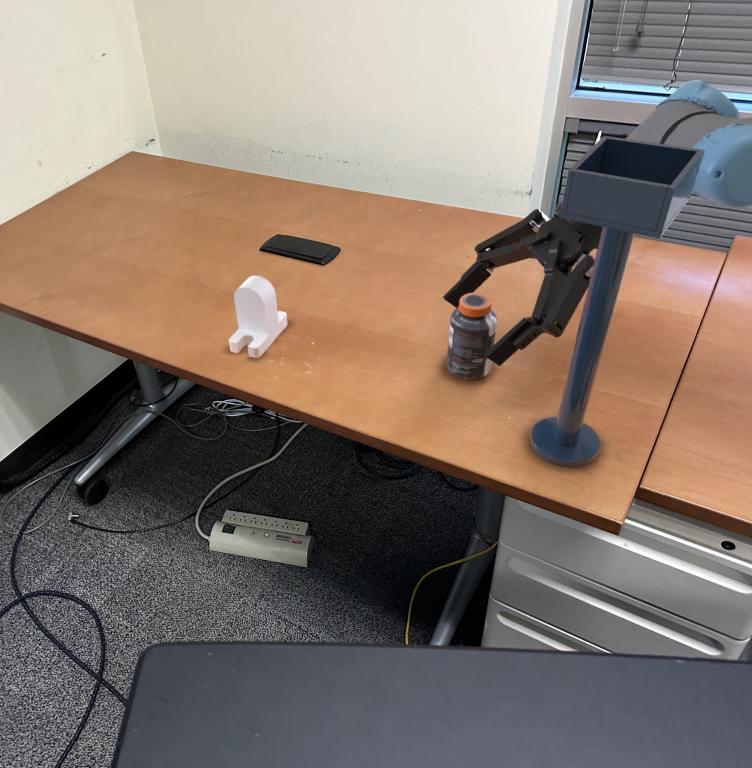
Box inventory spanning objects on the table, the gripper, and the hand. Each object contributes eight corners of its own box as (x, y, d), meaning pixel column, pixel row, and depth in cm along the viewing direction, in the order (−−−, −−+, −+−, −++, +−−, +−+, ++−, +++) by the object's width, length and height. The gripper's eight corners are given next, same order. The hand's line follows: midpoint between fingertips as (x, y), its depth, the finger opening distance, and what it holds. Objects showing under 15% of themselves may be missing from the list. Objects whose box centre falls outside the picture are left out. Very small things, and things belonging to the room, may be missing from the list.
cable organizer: (288, 323, 109) (283, 268, 103) (258, 358, 103) (250, 303, 97) (260, 316, 112) (253, 262, 105) (228, 351, 105) (219, 296, 99)
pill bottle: (500, 369, 95) (510, 301, 87) (467, 387, 93) (476, 318, 85) (468, 349, 99) (475, 282, 91) (436, 365, 97) (442, 298, 90)
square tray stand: (613, 437, 83) (705, 149, 60) (586, 480, 78) (675, 188, 56) (543, 411, 88) (603, 135, 65) (514, 450, 83) (568, 170, 60)
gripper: (533, 150, 90) (418, 270, 99) (649, 237, 71) (493, 375, 80) (564, 181, 94) (450, 293, 103) (683, 272, 75) (530, 400, 84)
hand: (469, 330), depth 92 cm, fingers open, 13 cm apart
